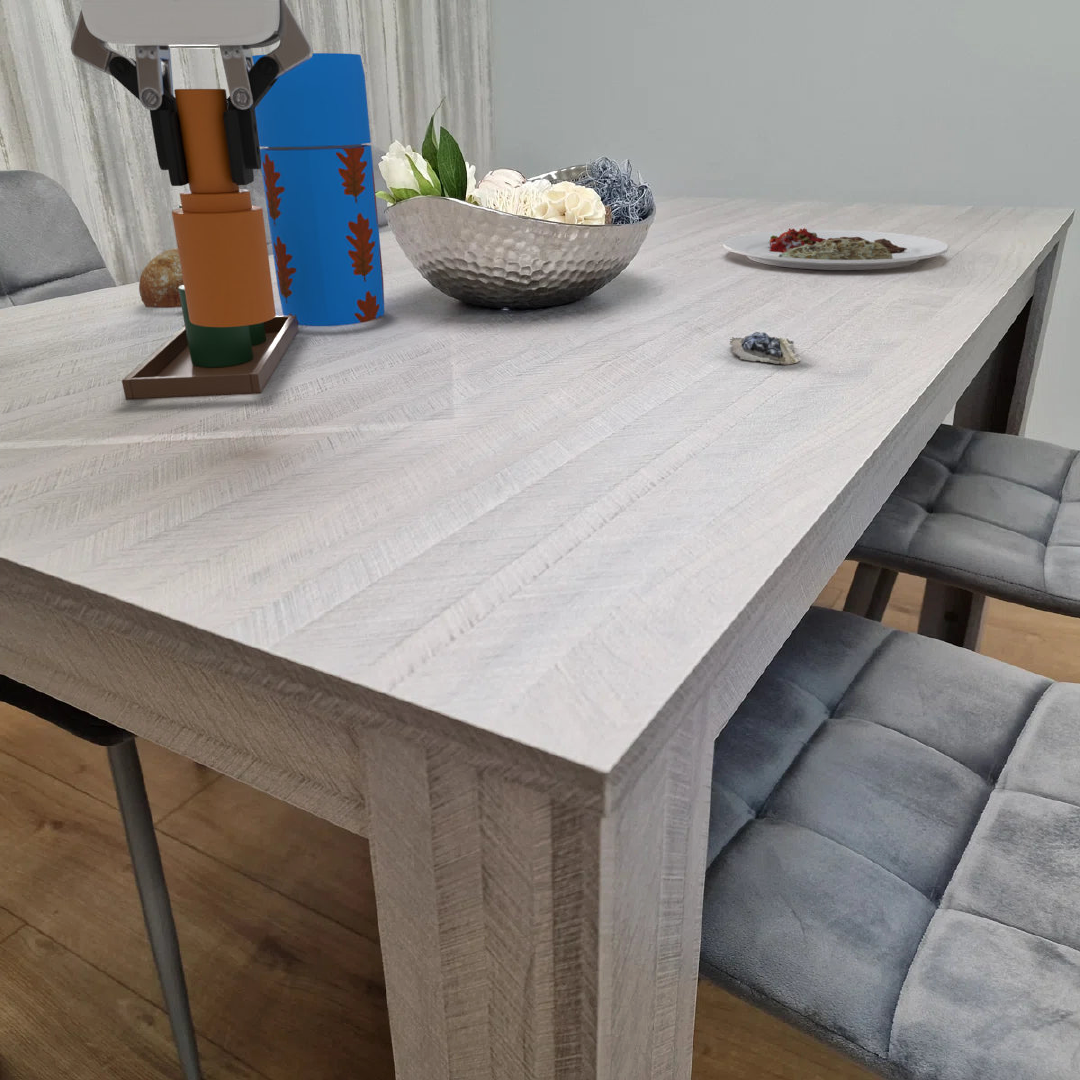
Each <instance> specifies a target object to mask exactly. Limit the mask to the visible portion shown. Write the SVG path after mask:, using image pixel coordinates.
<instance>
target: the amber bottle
mask: <svg viewBox="0 0 1080 1080" xmlns="http://www.w3.org/2000/svg"><path fill="white" fill-rule="evenodd" d="M173 93H174V97H175V98H176V105H177V111H178V117H179V124H180V130H181V137H182V143H183V149H184V156H185V162H186V169H187V175H188V182H189V183H188V186H189V190H183V191H181V192H179V200H180V205H181V206H182V208H179V207H178V208H175V209H173V210H172V211H171V215H172V216H171V217H172V222H173V229H174V234H175V242H176V246H177V249H178V253H179V259H180V265H181V271H182V277H183V283H184V289H185V295H186V301H187V307H188V313H189V319H190V322H191V323H193V324H195V325H199V326H206V327H237V326H246V325H253V324H258V323H262V322H266V321H269V320H271V319H273V318H274V317H275V316H277V314H276V306H275V298H274V290H273V282H272V281H273V280H272V273H271V267H270V259H269V258H270V257H269V252H268V243H267V235H266V234H267V233H266V226H265V218H264V210H263V207H262V206H259V205H252V197H251V191H250V190H249V189H245V188H240V185H237V184H236V183H233V181H232V176H231V168H230V161H229V154H228V146H227V139H226V132H225V125H224V117H223V113H224V112H226V110H228V102H227V99H228V96H227V89H225V88H175V89H173Z"/></svg>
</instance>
